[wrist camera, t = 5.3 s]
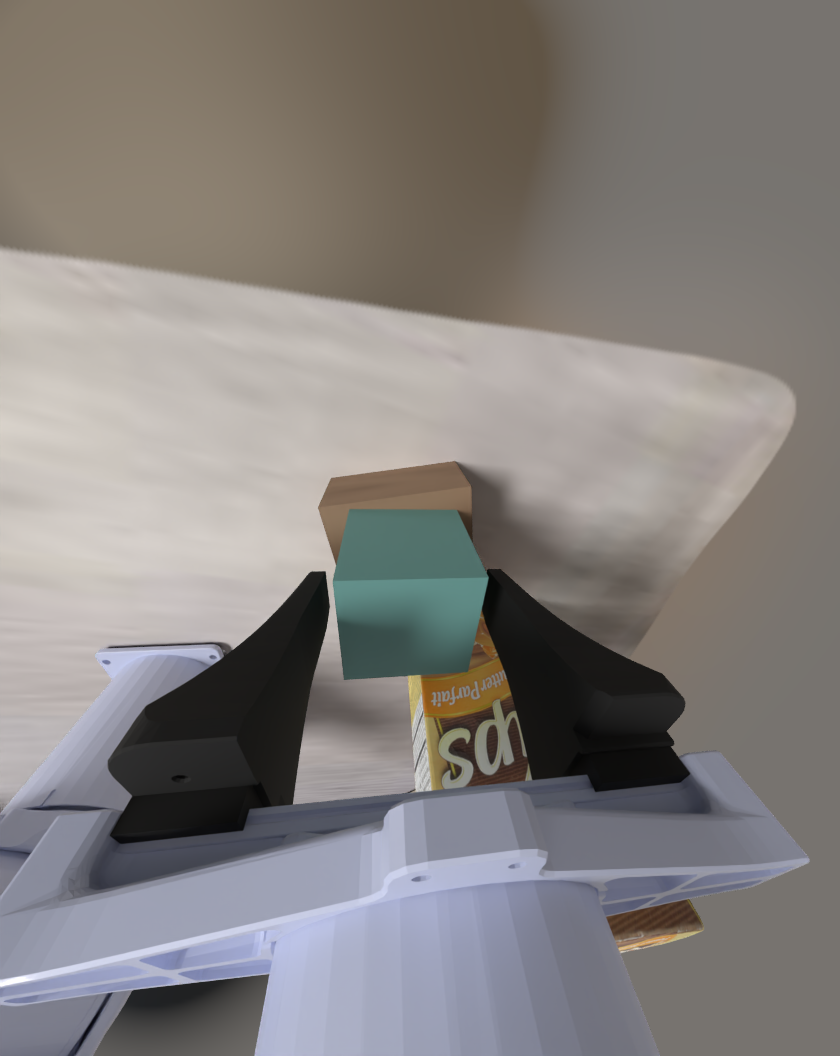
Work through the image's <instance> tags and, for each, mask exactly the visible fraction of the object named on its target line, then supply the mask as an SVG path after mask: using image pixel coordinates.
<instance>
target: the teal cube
mask: <svg viewBox="0 0 840 1056" xmlns="http://www.w3.org/2000/svg"><path fill="white" fill-rule="evenodd" d="M488 578H489V577H488V575H487V573H486V571H485V569H484V567H483V564H482V562H481V560H480V558H479V556H478V554H477V552H476V550H475V547H474V545H473V543H472V541H471V539H470V537H469V535H468V533H467V530H466V528H465V526H464V524H463V522H462V520H461V518H460V516H459V513H458V511H457V510H417V509H349V512H348V517H347V521H346V525H345V530H344V534H343V538H342V543H341V547H340V552H339V556H338V560H337V565H336V569H335V573H334V578H333V588H334V596H335V605H336V614H337V622H338V631H339V640H340V649H341V657H342V666H343V675H344V680H348V679H365V678H381V677H397V676H413V675H430V674H446V673H462V672H468V669H469V664H470V660H471V655H472V651H473V646H474V642H475V637H476V633H477V628H478V624H479V619H480V614H481V610H482V605H483V601H484V596H485V592H486V587H487V583H488Z"/></svg>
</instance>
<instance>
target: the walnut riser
mask: <svg viewBox="0 0 840 1056" xmlns="http://www.w3.org/2000/svg"><path fill="white" fill-rule="evenodd" d="M318 509H319V512H320V515H321V518H322V522H323V525H324V528H325V531H326V534H327V537H328V541H329V544H330V547H331V550H332V553H333V556H334V560H335V563H336V565H337V560H338V556H339V552H340V547H341V543H342V538H343V534H344V530H345V525H346V521H347V517H348V512H349V509H417V510H457V511H458V513H459V516H460V518H461V520H462V522H463V524H464V526H465V528H466V530H467V533H468V535H469V537H470V539H471V541H472V492H471V485H470V483H469V482H468V480H467V479H466V477H465V476H464V474H463V473H462V471H461V470H460V468H459V467H458V465H457V464H456V462H455V461H453V462H446V463H438V464H431V465H424V466H416V467H409V468H402V469H394V470H387V471H380V472H372V473H365V474H358V475H350V476H343V477H336V478H331V480H330V482H329V484H328V486H327V489H326V491H325V493H324V495H323V498H322V500H321V502H320V504H319V507H318Z"/></svg>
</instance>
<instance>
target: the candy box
mask: <svg viewBox="0 0 840 1056" xmlns="http://www.w3.org/2000/svg"><path fill="white" fill-rule="evenodd" d="M408 683H409V698H410V711H411V725H412V742H413V758H414V771H415V789H416V792H422V791H432V790H442V789H452V788H461V787H471V786H481V785H491V784H501V783H510V782H520V781H530V780H532V778H531V773H530V768H529V764H528V759H527V754H526V750H525V746H524V741H523V737H522V733H521V729H520V725H519V721H518V717H517V713H516V710H515V706H514V702H513V698H512V695H511V691H510V688H509V685H508V681H507V678H506V675H505V672H504V669H503V666H502V664H501V661H500V659H499V656H498V654H497V651H496V649H495V646H494V644H493V641H492V639H491V636H490V634H489V631H488V629H487V626H486V624H485V620H484V616H483V612H482V610H481V614H480V619H479V624H478V628H477V633H476V637H475V642H474V646H473V651H472V655H471V660H470V664H469V669H468V672H462V673H446V674H430V675H413V676H408ZM606 918H607V921H608V924H609V926H610V929H611V931H612V934H613V936H614V939H615V941H616V944H617V947H618V949H619V952H620V953H622V952H627V951H632V950H637V949H643V948H647V947H652V946H656V945H660V944H664V943H668V942H671V941H675V940H678V939H682V938H685V937H688V936H691V935H694V934H696V933H699V932H701V931H702V930H704V925H703V923H702V921H701V919H700V917H699V915H698V914H697V912H696V911H695V909H694V907H693V905H692V903H691V902H690V900H689V899H686V900H681V901H676V902H672V903H667V904H662V905H658V906H653V907H649V908H644V909H639V910H635V911H630V912H625V913H621V914H616V915H612V916H607V917H606Z"/></svg>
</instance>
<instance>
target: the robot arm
mask: <svg viewBox="0 0 840 1056" xmlns="http://www.w3.org/2000/svg"><path fill="white" fill-rule="evenodd" d="M487 575H488V577H489V578H488V583H487V587H486V592H485V596H484V601H483V605H482V612H483V616H484V620H485V624H486V626H487V629H488V631H489V634H490V636H491V639H492V641H493V644H494V646H495V649H496V651H497V654H498V656H499V659H500V661H501V664H502V666H503V669H504V672H505V675H506V678H507V681H508V685H509V688H510V691H511V695H512V698H513V702H514V706H515V710H516V713H517V717H518V721H519V725H520V729H521V733H522V737H523V741H524V746H525V750H526V754H527V759H528V764H529V768H530V773H531V778H532V780H530V781H520V782H510V783H501V784H491V785H481V786H471V787H461V788H452V789H442V790H432V791H422V792H412V793H403V794H393V795H383V796H373V797H363V798H353V799H344V800H334V801H324V802H314V803H304V804H295V805H293V798H294V791H295V783H296V776H297V768H298V762H299V755H300V748H301V741H302V735H303V729H304V723H305V717H306V711H307V705H308V699H309V694H310V688H311V684H312V680H313V676H314V672H315V669H316V665H317V661H318V658H319V654H320V651H321V647H322V643H323V640H324V636H325V632H326V629H327V622H328V616H329V608H330V605H329V596H328V588H327V580H326V571H323V572H310V573H309V574H308V575H307V576H306V578H305V579H304V580H303V581H302V582H301V584H300V585H299V586H298V587H297V589H296V590H295V591H294V592H293V593H292V594H291V596H290V597H289V598H288V599H287V600H286V601H285V602H284V603H283V604H282V606H281V607H280V608H279V609H278V610H277V611H276V612H275V613H274V614H273V615H272V616H271V617H270V618H269V619H268V620H267V621H266V622H265V623H264V624H263V625H262V626H261V627H260V628H259V629H257V630H256V631H255V632H254V633H253V634H252V635H251V636H249V637H248V638H247V639H246V640H245V641H244V642H242V643H241V644H240V645H239V646H237V647H236V648H235V649H233V650H232V651H231V652H229V653H228V654H227V655H226V656H224V655H223V652H222V650H221V648H220V647H219V646H218V645H215V644H207V645H182V646H156V647H131V648H105V649H101V650H99V651H98V652H97V653H96V654H95V657H96V659H97V660H98V661H99V663H100V664H101V665H102V667H103V668H104V669H105V671H106V672H107V674H108V675H109V676H110V678H111V679H112V681H111V682H110V683H109V685H108V686H107V687H106V688H105V689H104V691H103V692H102V693H101V694H100V695H99V696H98V698H97V699H96V700H95V701H94V702H93V704H92V705H91V706H90V707H89V708H88V710H87V711H86V712H85V713H84V714H83V715H82V717H81V718H80V719H79V720H78V721H77V723H76V724H75V725H74V726H73V727H72V729H71V730H70V731H69V732H68V733H67V735H66V736H65V737H64V738H63V739H62V740H61V742H60V743H59V744H58V745H57V746H56V748H55V749H54V750H53V751H52V752H51V754H50V755H49V756H48V757H47V758H46V759H45V761H44V762H43V763H42V764H41V765H40V767H39V768H38V769H37V770H36V771H35V773H34V774H33V775H32V776H31V777H30V778H29V780H28V781H27V782H26V783H25V784H24V786H23V787H22V788H21V789H20V790H19V792H18V793H17V794H16V795H15V796H14V797H13V799H12V800H11V801H10V802H9V803H8V805H7V806H6V807H5V808H4V809H3V811H2V812H1V813H0V1056H93V1054H94V1052H95V1051H96V1049H97V1047H98V1045H99V1044H100V1042H101V1040H102V1038H103V1037H104V1035H105V1033H106V1032H107V1030H108V1028H109V1027H110V1026H111V1024H112V1023H113V1021H114V1020H115V1018H116V1017H117V1015H118V1014H119V1012H120V1010H121V1009H122V1007H123V1005H124V1004H125V1002H126V1000H127V998H128V997H129V995H130V993H131V991H132V990H135V989H143V988H152V987H160V986H169V985H178V984H186V983H195V982H203V981H212V980H221V979H229V978H238V977H246V976H254V975H264V974H270V975H269V981H268V986H267V991H266V997H265V1003H264V1007H263V1013H262V1018H261V1024H260V1029H259V1034H258V1040H257V1045H256V1050H255V1056H660V1054H659V1051H658V1049H657V1046H656V1044H655V1041H654V1039H653V1036H652V1033H651V1031H650V1029H649V1026H648V1024H647V1021H646V1018H645V1016H644V1013H643V1010H642V1008H641V1005H640V1003H639V1000H638V998H637V995H636V993H635V990H634V987H633V985H632V982H631V980H630V977H629V975H628V972H627V970H626V967H625V965H624V962H623V959H622V957H621V954H620V952H619V949H618V947H617V944H616V941H615V939H614V936H613V934H612V931H611V929H610V926H609V924H608V921H607V918H606V917H607V916H612V915H616V914H621V913H625V912H630V911H635V910H639V909H644V908H649V907H653V906H658V905H662V904H667V903H672V902H676V901H681V900H686V899H691V898H695V897H700V896H705V895H711V894H717V893H722V892H728V891H733V890H739V889H745V888H750V887H753V886H755V885H758V884H760V883H762V882H765V881H767V880H769V879H772V878H774V877H777V876H778V875H781V874H783V873H786V872H788V871H791V870H793V869H795V868H797V867H800V866H802V865H805V864H807V863H809V857H808V856H807V855H806V854H805V853H804V851H803V850H802V849H801V848H800V847H799V845H798V844H797V843H796V842H795V841H794V840H793V838H792V837H791V836H790V835H789V834H788V833H787V831H786V830H785V829H784V828H783V826H782V825H781V824H780V823H779V822H778V821H777V819H776V818H775V817H774V816H773V815H772V813H771V812H770V811H769V810H768V809H767V808H766V806H765V805H764V804H763V803H762V802H761V801H760V799H759V798H758V797H757V796H756V794H755V793H754V792H753V791H752V790H751V788H750V787H749V786H748V785H747V784H746V783H745V781H744V780H743V779H742V778H741V777H740V775H739V774H738V773H737V772H736V771H735V770H734V769H733V767H732V766H731V765H730V764H729V762H728V761H727V760H726V759H725V758H724V757H723V755H722V754H721V753H720V752H719V751H716V750H713V751H702V752H692V753H687V754H683V755H681V756H679V757H678V756H677V755H676V753H675V752H674V751H673V749H672V748H671V746H673V745H674V741H673V739H672V738H671V737H670V735H669V734H668V733H667V730H668V729H669V728H670V727H671V726H672V724H673V723H674V722H675V721H676V720H677V719H678V718H679V717H680V715H681V714H682V713H683V711H684V708H685V701H684V698H683V697H682V696H681V694H680V693H679V692H678V691H677V690H676V689H675V688H674V686H673V685H672V684H671V683H670V682H669V681H668V680H667V679H666V678H665V676H664V675H663V674H662V673H659V672H657V671H654V670H652V669H650V668H648V667H645V666H643V665H641V664H638V663H636V662H634V661H632V660H630V659H628V658H626V657H624V656H622V655H620V654H618V653H616V652H614V651H612V650H610V649H608V648H606V647H604V646H602V645H600V644H599V643H597V642H595V641H593V640H592V639H590V638H588V637H587V636H585V635H583V634H582V633H580V632H578V631H577V630H575V629H574V628H572V627H571V626H569V625H568V624H566V623H565V622H563V621H562V620H560V619H559V618H558V617H556V616H555V615H553V614H552V613H551V612H550V611H548V610H547V609H546V608H544V607H543V606H542V605H541V604H539V603H538V602H537V601H536V600H535V599H533V598H532V597H531V596H530V595H529V594H528V593H526V592H525V591H524V590H523V589H522V588H521V587H520V586H519V585H518V584H516V583H515V582H514V581H513V580H512V579H511V578H510V577H509V576H508V575H506V574H505V573H504V572H503V571H502V570H501V569H487Z"/></svg>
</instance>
